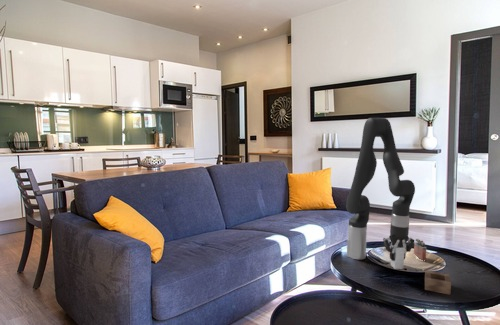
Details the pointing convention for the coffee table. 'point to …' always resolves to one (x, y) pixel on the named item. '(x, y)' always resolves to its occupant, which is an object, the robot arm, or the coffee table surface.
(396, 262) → the square peg
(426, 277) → the slot holder
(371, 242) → the coffee table surface
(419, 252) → the terracotta planter
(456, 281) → the coffee table surface
